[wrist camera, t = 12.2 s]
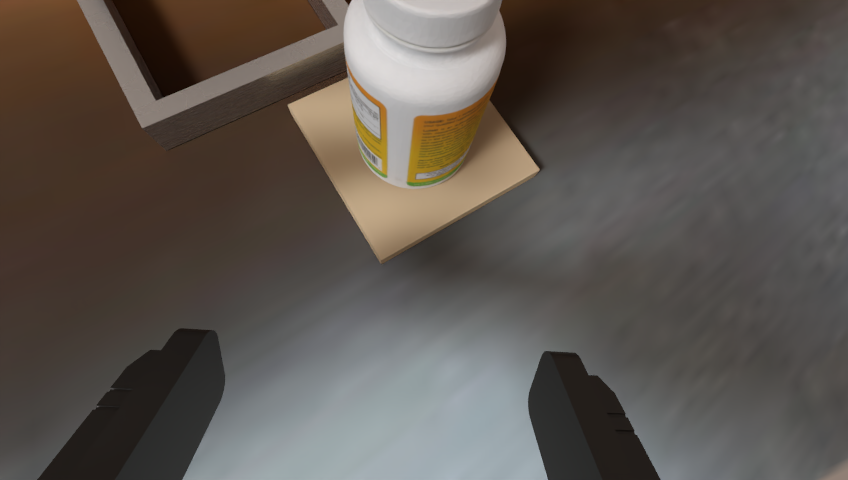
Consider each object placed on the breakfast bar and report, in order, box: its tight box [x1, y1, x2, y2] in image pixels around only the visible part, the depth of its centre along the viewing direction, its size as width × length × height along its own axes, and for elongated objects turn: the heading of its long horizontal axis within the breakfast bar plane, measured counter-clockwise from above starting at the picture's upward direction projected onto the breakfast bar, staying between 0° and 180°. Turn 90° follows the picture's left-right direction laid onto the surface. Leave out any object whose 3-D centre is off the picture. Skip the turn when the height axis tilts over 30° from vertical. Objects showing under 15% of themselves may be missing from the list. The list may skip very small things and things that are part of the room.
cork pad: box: [288, 78, 540, 264], centre depth 20 cm, size 9×9×1 cm
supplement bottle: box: [343, 0, 506, 189], centre depth 15 cm, size 5×5×10 cm
